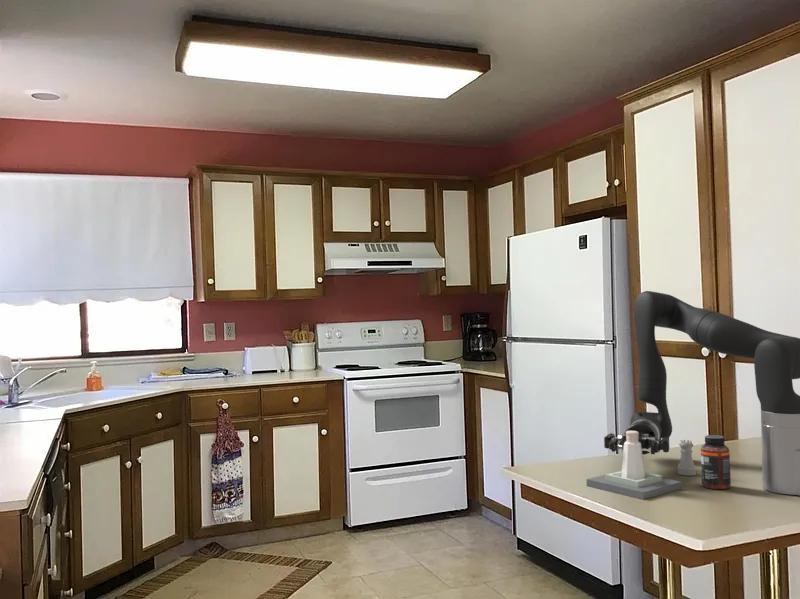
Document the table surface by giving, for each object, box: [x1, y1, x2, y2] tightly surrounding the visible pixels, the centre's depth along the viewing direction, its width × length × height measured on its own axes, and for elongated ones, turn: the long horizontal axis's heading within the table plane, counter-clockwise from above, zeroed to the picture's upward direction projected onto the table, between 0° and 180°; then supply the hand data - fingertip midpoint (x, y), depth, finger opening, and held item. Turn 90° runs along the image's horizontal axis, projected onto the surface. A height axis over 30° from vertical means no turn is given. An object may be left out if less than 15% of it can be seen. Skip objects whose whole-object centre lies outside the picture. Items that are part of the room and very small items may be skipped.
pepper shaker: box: [621, 430, 646, 480], centre depth 160 cm, size 5×5×11 cm
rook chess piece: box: [676, 439, 697, 477], centre depth 171 cm, size 4×4×8 cm
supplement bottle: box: [700, 434, 732, 491], centre depth 159 cm, size 6×6×11 cm
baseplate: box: [586, 470, 683, 500], centre depth 160 cm, size 15×14×3 cm
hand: (632, 448), depth 160 cm, fingers open, 8 cm apart
